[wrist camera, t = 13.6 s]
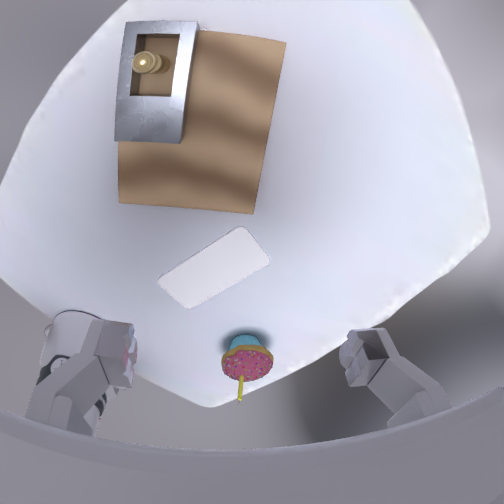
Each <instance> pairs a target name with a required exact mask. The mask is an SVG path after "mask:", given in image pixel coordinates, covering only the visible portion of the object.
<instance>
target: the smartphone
mask: <svg viewBox="0 0 504 504" xmlns="http://www.w3.org/2000/svg"><path fill="white" fill-rule="evenodd" d="M269 262H270V259H269V257H268V255H267V254H266V253H265V251H264V250H263V249H262V248H261V246H260V245H259V244H258V243H257V241H256V240H255V239H254V238H253V236H252V235H251V234H250V232H249V231H248V230H247V229H246V228H245V227H243V226H239V227H236V228H235V229H233V230H231V231H230V232H228V233H227V234H225V235H223V236H222V237H220V238H219V239H217V240H216V241H214V242H213V243H211V244H209V245H208V246H206V247H205V248H203V249H202V250H200V251H198V252H197V253H195V254H194V255H192V256H191V257H189V258H188V259H186V260H184V261H182V262H181V263H179V264H178V265H176V266H175V267H174V268H172V269H171V270H169V271H168V272H166V273H165V274H163V275H162V276H160V277H159V278H158V284H159V285H160V286H161V287H162V288H163V289H164V290H165V291H166V292H167V293H168V294H169V295H171V296H172V297H173V298H174V299H175V300H176V301H177V302H178V303H180V304H181V305H182V306H183V307H184V308H186V309H192V308H194V307H196V306H197V305H199V304H201V303H203V302H204V301H206V300H208V299H210V298H211V297H213V296H215V295H217V294H218V293H220V292H222V291H224V290H225V289H227V288H229V287H231V286H232V285H234V284H236V283H238V282H239V281H241V280H243V279H244V278H246V277H248V276H250V275H251V274H253V273H255V272H256V271H258V270H260V269H262V268H263V267H265V266H267V265H268V264H269Z"/></svg>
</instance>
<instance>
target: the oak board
mask: <svg viewBox="0 0 504 504" xmlns="http://www.w3.org/2000/svg"><path fill="white" fill-rule="evenodd" d="M179 39H180V38H146V41H145V48H144V51H150V52H153V53H157V54H160V55H163V56H166V57H168V58H169V59H170V61H171V67H170V69H169V70H168V71H167V72H166V73H163V74H141V79H140V88H139V93H142V94H172V86H173V78H174V71H175V64H176V57H177V51H178V45H179ZM285 47H286V43H285V42H281V41H276V40H270V39H265V38H259V37H253V36H247V35H240V34H232V33H223V32H213V31H201V30H199V35H198V41H197V46H196V52H195V58H194V65H193V71H192V78H191V85H190V93H189V100H188V108H187V117H186V126H185V135H184V138H183V140H182V142H181V143H180V144H172V143H155V142H129V141H119V144H118V190H119V203H127V204H142V205H155V206H168V207H181V208H192V209H203V210H214V211H225V212H235V213H244V214H253V213H254V207H255V202H256V197H257V192H258V186H259V181H260V176H261V171H262V165H263V160H264V155H265V150H266V145H267V139H268V134H269V129H270V124H271V119H272V114H273V108H274V103H275V98H276V93H277V88H278V83H279V78H280V73H281V68H282V63H283V58H284V52H285Z"/></svg>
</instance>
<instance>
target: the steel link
mask: <svg viewBox="0 0 504 504" xmlns="http://www.w3.org/2000/svg"><path fill="white" fill-rule="evenodd" d="M199 29H200V27H199V25H198V22H191V21H136V22H126V26H125V31H124V38H123V44H122V51H121V59H120V67H119V76H118V87H117V99H116V115H115V141H129V142H155V143H172V144H180V143H181V142H182V140H183V138H184V135H185V126H186V117H187V108H188V100H189V93H190V85H191V78H192V71H193V65H194V58H195V52H196V46H197V41H198V35H199ZM146 38H180V39H179V45H178V51H177V57H176V64H175V71H174V78H173V86H172V94H142V93H139V88H140V79H141V74H139V73H137V72H135V71H134V70H133V68H132V60H133V58H134V57H135V55H136V54H138V53H139V52H142V51H144V48H145V41H146Z"/></svg>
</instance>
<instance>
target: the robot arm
mask: <svg viewBox="0 0 504 504" xmlns="http://www.w3.org/2000/svg"><path fill="white" fill-rule="evenodd" d="M44 333H45V335H46V337H47V338H46V341H45V344H44V348H43V352H42V355H41V359H40V365H41V367H42V369H41V371H40V374H39V375H38V378H37V384H36V386H35V388H34V390H33V393H32V396H31V399H30V402H29V405H28V408H27V412H26V415H25V418H24V417H21V416H19V415H16V414H13V413H11V412H8V411H5V410H3V409H1V408H0V504H504V387H498V388H495V389H493V390H491V391H489V392H487V393H485V394H483V395H481V396H479V397H476V398H474V399H472V400H469V401H467V402H465V403H462V404H460V405H457V406H455V407H451V404H450V402H449V400H448V398H447V396H446V394H445V392H444V390H443V389H442V386H441V385H440V384H439V383H437V382H436V381H435V380H434V379H432V378H431V377H429V376H428V375H427V374H426V373H424V372H423V371H421V370H420V369H419V368H418V367H416V366H415V365H413V364H412V363H411V362H410V361H408V360H407V359H405V358H404V357H400V356H399V354H398V352H397V350H396V348H395V346H394V344H393V342H392V340H391V338H390V336H389V334H388V332H387V331H386V329H384V328H373V329H372V328H369V329H354V330H351V331H349V333H348V335H347V338H348V340H347V341H345V342H344V343H343V344H342V346H341V348H340V355H339V356H340V361H341V364H342V366H343V367H345V368H346V369H347V370H346V373H345V375H346V378H347V381H348V384H349V386H350V387H356V386H364V385H368V387H369V388H370V390H371V391H372V392H374V394H375V395H376V396H377V397H378V398H379V399H380V400H382V402H383V403H384V404H385V405H386V406H387V407H388V408H390V410H391V411H392V412H393V413H394V414H395V415H394V416H393V417H392V418H390V419H389V420H388V422H387V425H388V429H384V430H380V431H376V432H372V433H367V434H363V435H358V436H354V437H349V438H344V439H338V440H332V441H327V442H320V443H313V444H306V445H297V446H288V447H277V448H264V449H243V450H201V449H180V448H179V449H178V448H167V447H166V448H165V447H156V446H147V445H139V444H132V443H125V442H119V441H113V440H108V439H102V438H97V427H98V421H99V419H100V418H99V417H100V416H101V415H102V413H103V411H104V409H105V405H106V402H107V401H109V400H112V399H115V398H116V397H117V395H118V391H119V389H122V390H125V389H126V387H130V388H132V382H133V375H134V371H133V365H134V364H135V363H136V358H137V341H136V338H135V337H134V336H133V335H134V326H133V324H130V323H122V322H115V321H108V320H100V319H98V318H96V317H94V316H92V315H89V314H86V313H82V312H76V311H67V312H63V313H60V314H59V315H57V316H56V317H55V319H54V321H53V323H52V324H51V325H49V326H47V327H46V328H45V331H44Z"/></svg>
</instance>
